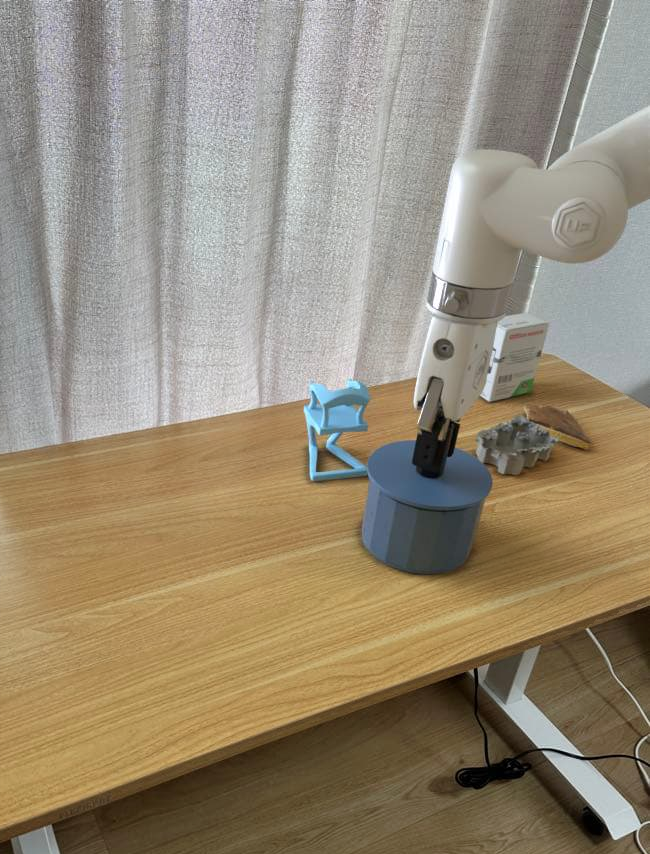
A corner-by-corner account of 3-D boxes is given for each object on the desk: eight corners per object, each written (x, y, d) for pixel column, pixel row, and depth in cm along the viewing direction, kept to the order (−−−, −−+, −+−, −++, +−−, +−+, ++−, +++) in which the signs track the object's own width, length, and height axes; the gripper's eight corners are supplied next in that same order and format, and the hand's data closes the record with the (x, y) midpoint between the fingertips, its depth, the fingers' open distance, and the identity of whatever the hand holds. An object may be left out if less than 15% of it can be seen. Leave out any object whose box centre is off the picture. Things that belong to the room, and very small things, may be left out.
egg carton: (508, 480, 106) (516, 454, 103) (465, 455, 111) (471, 429, 108) (558, 458, 111) (567, 432, 109) (515, 434, 116) (522, 409, 113)
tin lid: (505, 471, 91) (521, 415, 87) (467, 530, 82) (483, 471, 78) (393, 436, 97) (403, 382, 92) (345, 488, 87) (354, 430, 83)
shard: (590, 453, 113) (594, 442, 111) (536, 451, 112) (539, 440, 111) (564, 416, 121) (568, 405, 120) (514, 414, 121) (517, 403, 120)
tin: (483, 531, 96) (500, 471, 91) (449, 588, 87) (465, 525, 82) (386, 498, 101) (397, 439, 96) (343, 549, 92) (353, 487, 87)
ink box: (510, 380, 130) (529, 310, 123) (531, 393, 127) (552, 321, 120) (468, 389, 127) (485, 317, 120) (488, 403, 124) (507, 329, 117)
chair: (345, 444, 112) (356, 363, 104) (368, 476, 105) (381, 392, 98) (292, 449, 110) (300, 367, 103) (312, 482, 103) (321, 397, 96)
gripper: (480, 331, 70) (439, 506, 81) (529, 279, 81) (488, 439, 92) (399, 311, 72) (370, 483, 83) (458, 264, 84) (426, 420, 95)
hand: (432, 458), depth 88 cm, fingers closed on tin lid, 3 cm apart
